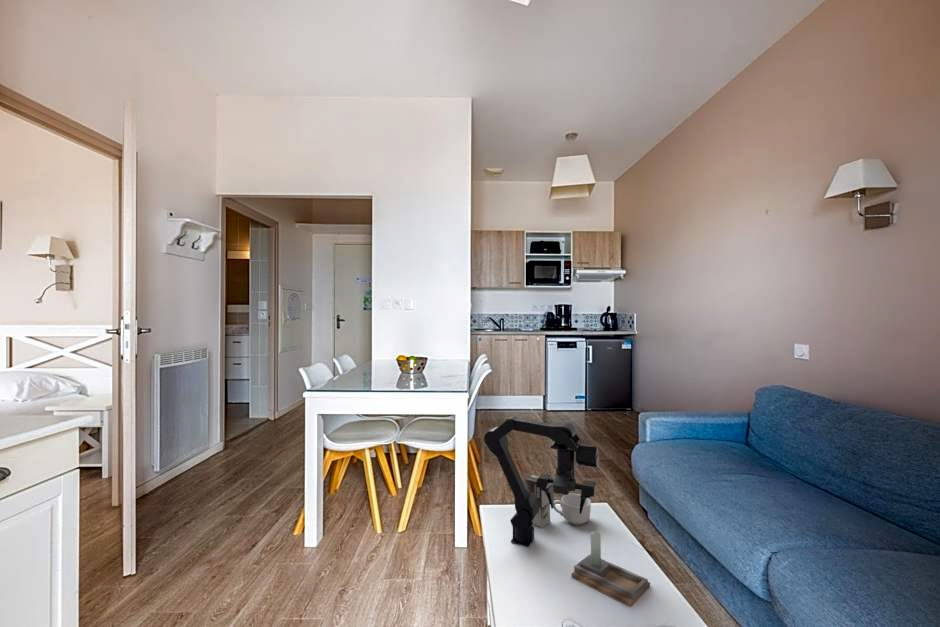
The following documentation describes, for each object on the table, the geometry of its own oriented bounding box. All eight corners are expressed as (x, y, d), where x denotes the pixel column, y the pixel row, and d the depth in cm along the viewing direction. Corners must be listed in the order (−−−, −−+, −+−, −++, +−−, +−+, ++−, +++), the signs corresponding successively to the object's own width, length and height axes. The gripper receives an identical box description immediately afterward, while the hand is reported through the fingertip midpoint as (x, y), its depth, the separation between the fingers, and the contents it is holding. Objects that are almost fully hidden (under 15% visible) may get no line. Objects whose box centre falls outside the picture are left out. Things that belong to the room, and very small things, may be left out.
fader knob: (581, 570, 127) (581, 533, 127) (592, 562, 131) (591, 526, 131) (600, 579, 122) (599, 540, 122) (610, 570, 127) (610, 533, 127)
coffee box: (551, 521, 159) (550, 478, 159) (542, 528, 155) (541, 483, 155) (529, 514, 165) (529, 472, 165) (520, 520, 160) (520, 477, 160)
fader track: (571, 577, 126) (571, 568, 126) (592, 560, 134) (592, 552, 134) (630, 607, 113) (630, 597, 113) (650, 586, 121) (650, 577, 121)
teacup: (590, 515, 164) (590, 494, 164) (591, 529, 153) (591, 507, 153) (553, 512, 167) (553, 491, 167) (552, 525, 156) (551, 503, 156)
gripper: (530, 466, 137) (531, 515, 137) (590, 476, 129) (591, 528, 129) (540, 456, 147) (541, 501, 147) (596, 464, 139) (597, 512, 139)
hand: (566, 510), depth 140 cm, fingers open, 9 cm apart
